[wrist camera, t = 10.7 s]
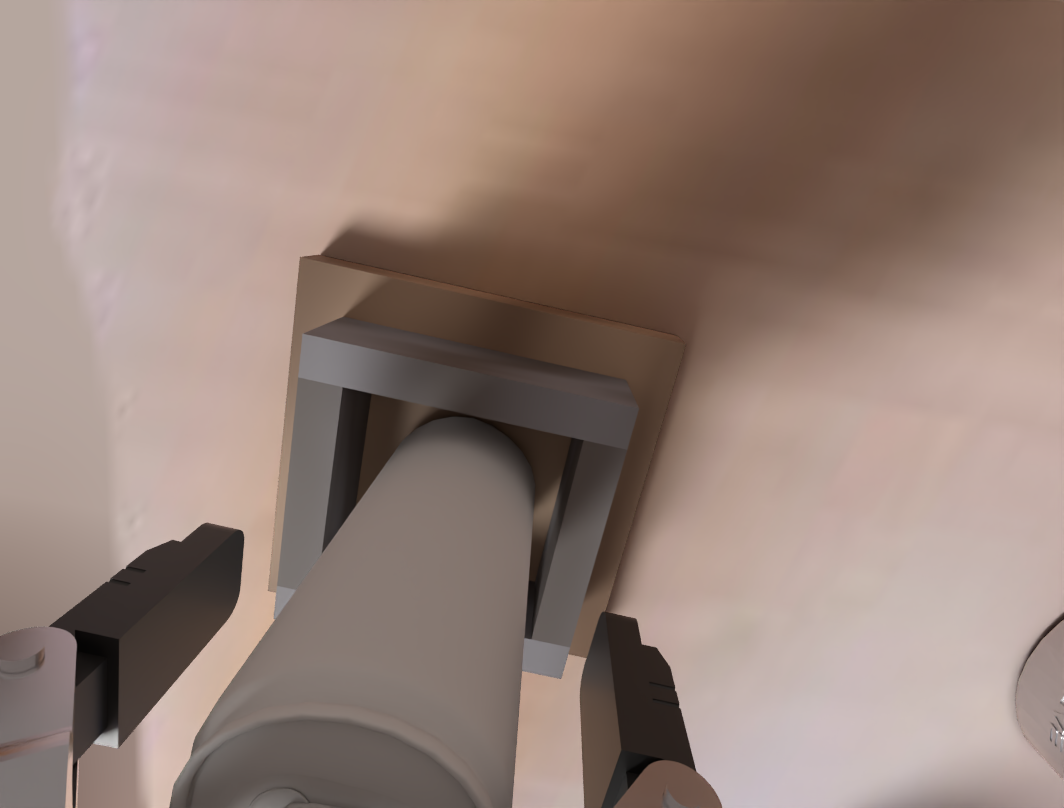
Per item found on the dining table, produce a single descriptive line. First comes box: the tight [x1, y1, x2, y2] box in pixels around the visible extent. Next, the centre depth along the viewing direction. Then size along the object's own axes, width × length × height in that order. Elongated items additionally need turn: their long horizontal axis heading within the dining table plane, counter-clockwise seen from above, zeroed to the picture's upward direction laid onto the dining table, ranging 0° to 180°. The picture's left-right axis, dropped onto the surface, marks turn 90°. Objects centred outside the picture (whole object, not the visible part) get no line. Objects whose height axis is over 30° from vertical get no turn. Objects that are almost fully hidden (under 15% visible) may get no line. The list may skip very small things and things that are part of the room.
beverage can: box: [169, 417, 535, 808], centre depth 14 cm, size 5×5×12 cm
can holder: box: [268, 255, 686, 679], centre depth 19 cm, size 12×12×4 cm
